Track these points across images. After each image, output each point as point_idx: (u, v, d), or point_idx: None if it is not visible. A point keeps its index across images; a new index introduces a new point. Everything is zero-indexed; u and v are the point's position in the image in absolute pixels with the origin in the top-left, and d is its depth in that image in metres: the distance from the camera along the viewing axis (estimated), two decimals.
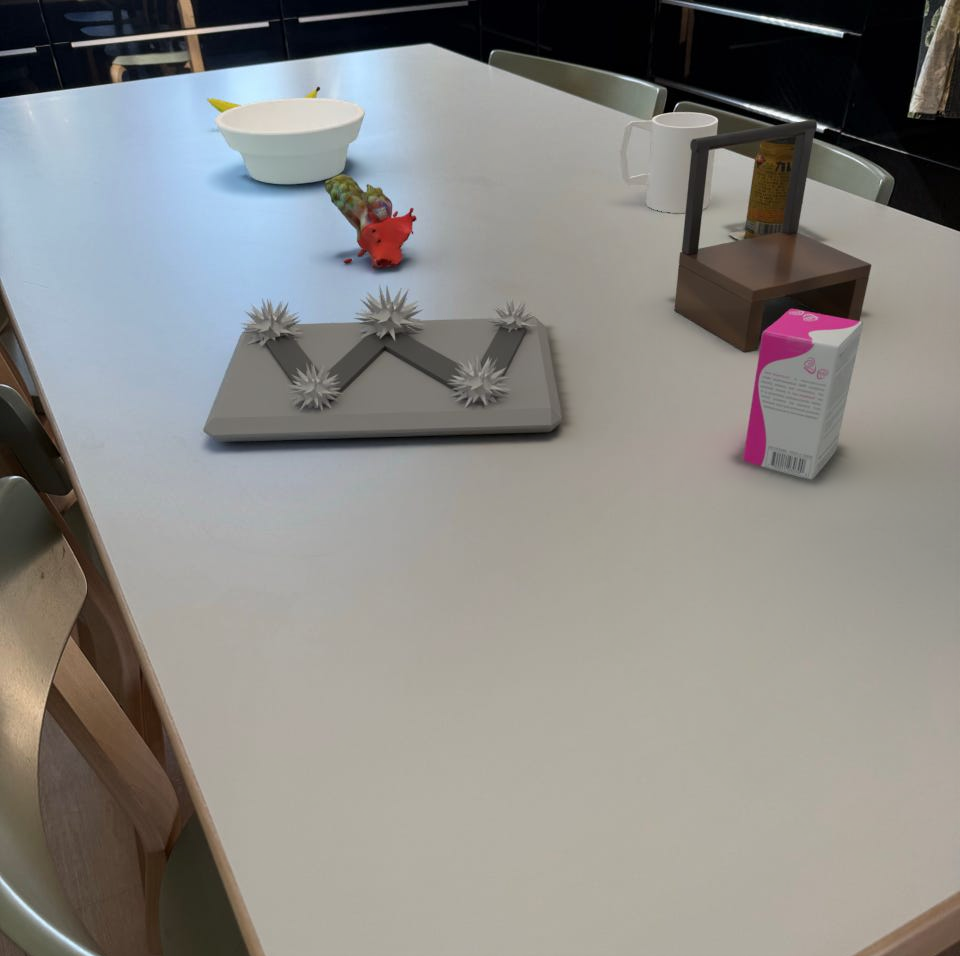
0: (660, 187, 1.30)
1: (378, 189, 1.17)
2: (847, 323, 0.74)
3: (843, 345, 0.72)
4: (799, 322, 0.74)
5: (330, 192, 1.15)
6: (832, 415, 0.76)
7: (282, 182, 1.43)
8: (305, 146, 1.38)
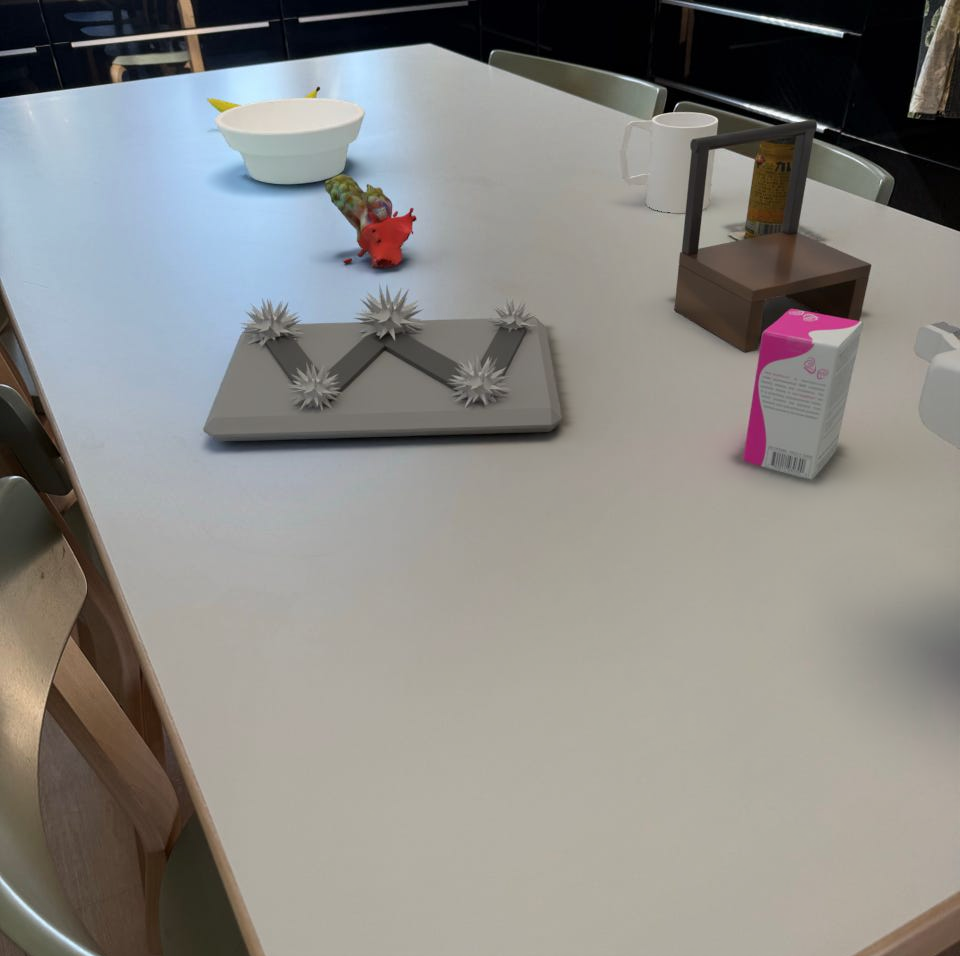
0: (661, 187, 1.30)
1: (378, 189, 1.17)
2: (847, 323, 0.74)
3: (843, 345, 0.72)
4: (799, 322, 0.74)
5: (330, 192, 1.15)
6: (832, 415, 0.76)
7: (282, 182, 1.43)
8: (305, 146, 1.38)
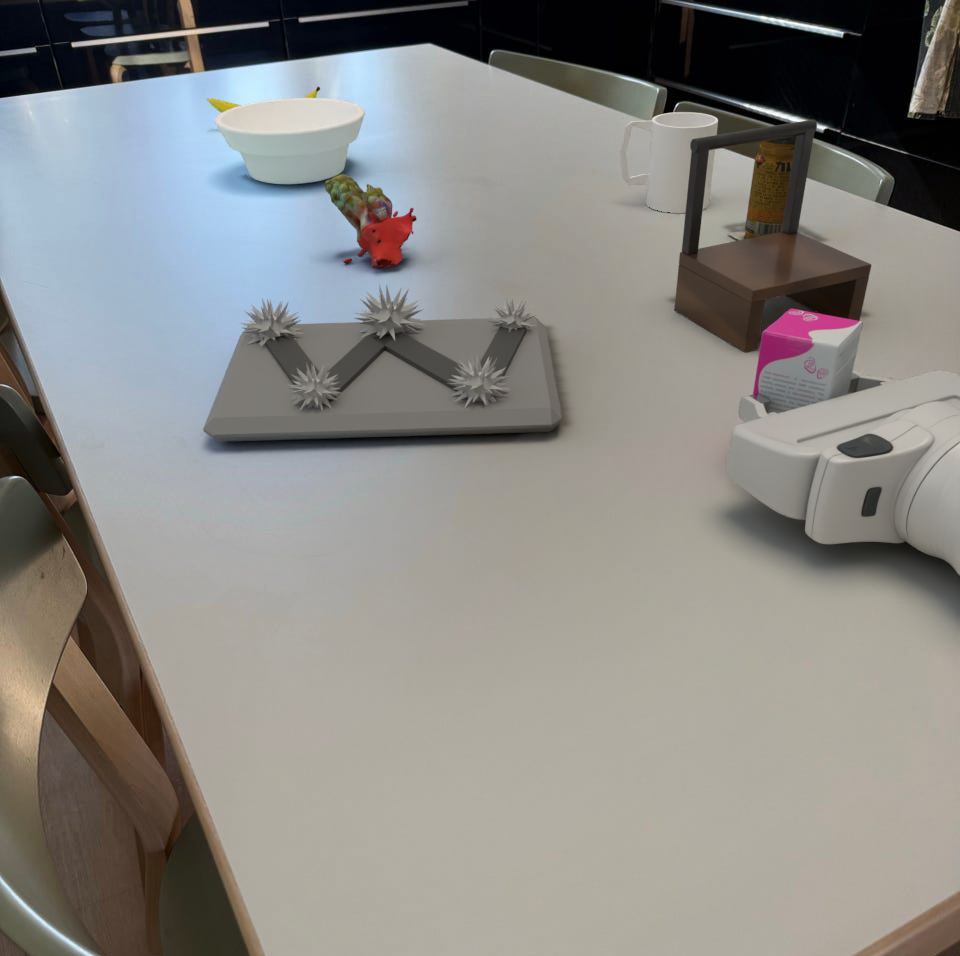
0: (661, 187, 1.30)
1: (378, 189, 1.17)
2: (846, 322, 0.74)
3: (843, 345, 0.72)
4: (799, 322, 0.74)
5: (330, 192, 1.15)
6: None
7: (282, 182, 1.43)
8: (305, 146, 1.38)
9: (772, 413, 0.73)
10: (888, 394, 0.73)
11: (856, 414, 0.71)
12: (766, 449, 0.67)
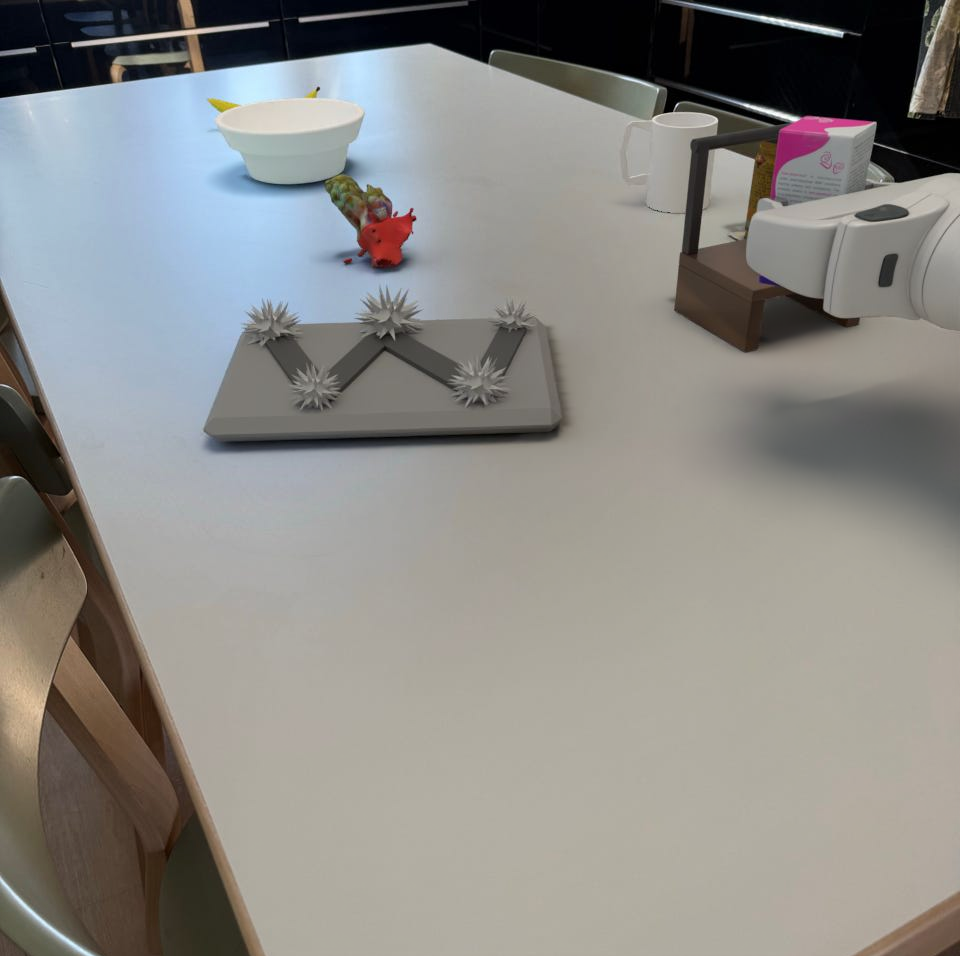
0: (661, 187, 1.30)
1: (378, 189, 1.17)
2: (861, 123, 0.76)
3: (858, 137, 0.74)
4: (815, 123, 0.77)
5: (330, 192, 1.15)
6: None
7: (282, 182, 1.43)
8: (305, 146, 1.38)
9: None
10: (902, 189, 0.75)
11: (871, 202, 0.73)
12: (785, 226, 0.69)
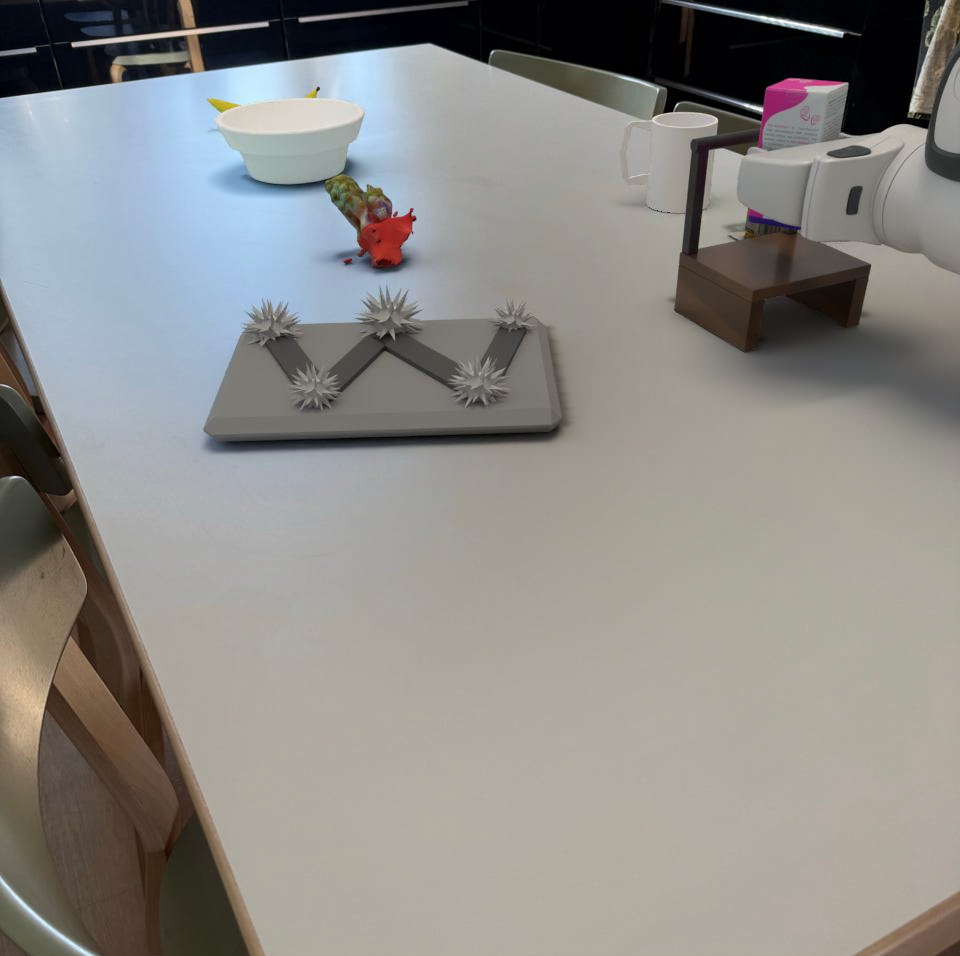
0: (660, 187, 1.30)
1: (378, 189, 1.17)
2: (835, 83, 0.90)
3: (832, 93, 0.87)
4: (796, 83, 0.90)
5: (330, 192, 1.15)
6: None
7: (282, 182, 1.43)
8: (305, 146, 1.38)
9: None
10: None
11: None
12: (769, 164, 0.83)
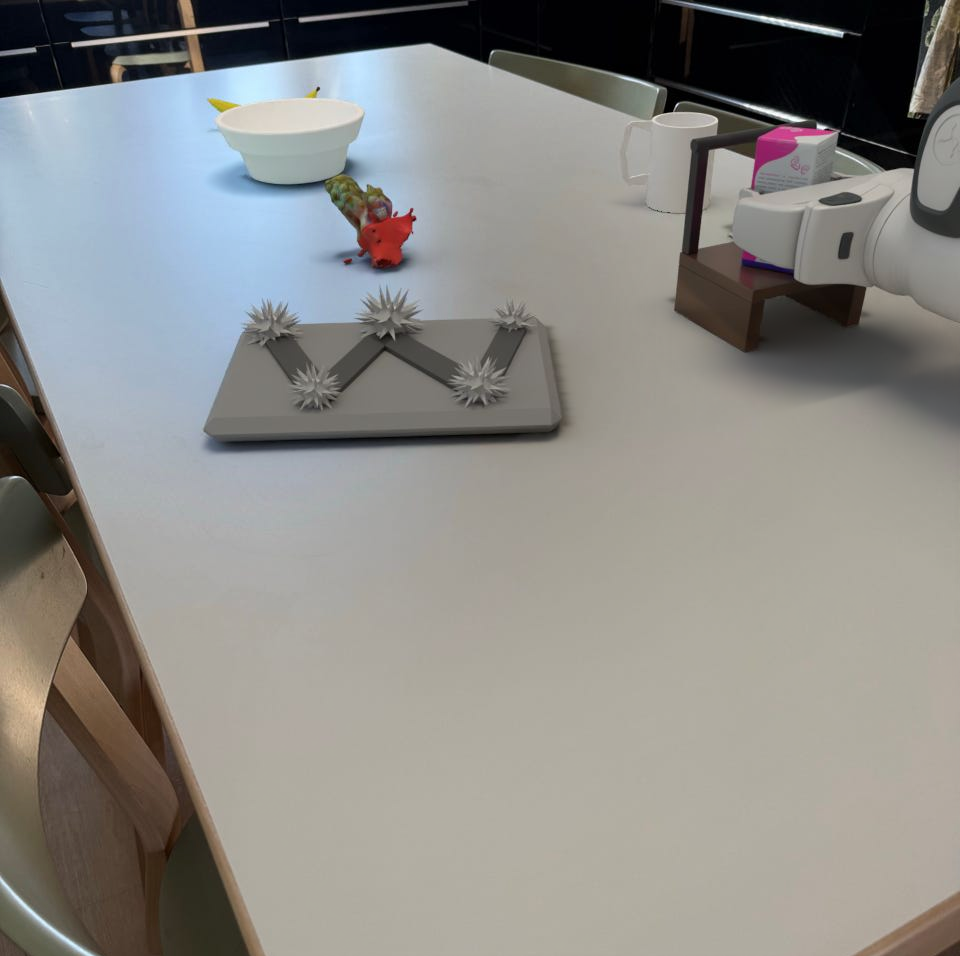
0: (661, 187, 1.30)
1: (378, 189, 1.17)
2: (825, 132, 0.93)
3: (821, 144, 0.90)
4: (787, 132, 0.93)
5: (330, 192, 1.15)
6: None
7: (282, 182, 1.43)
8: (305, 146, 1.38)
9: None
10: (861, 181, 0.91)
11: (835, 191, 0.89)
12: (763, 209, 0.85)
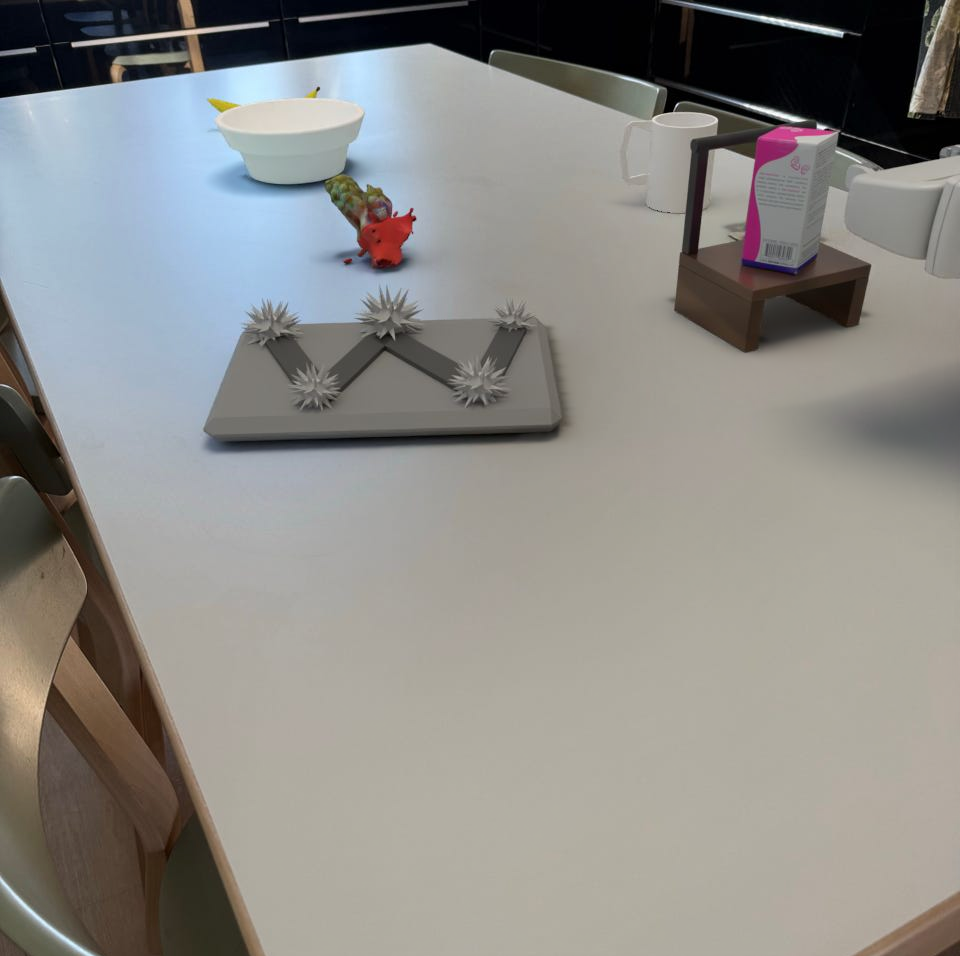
0: (661, 187, 1.30)
1: (378, 189, 1.17)
2: (825, 132, 0.93)
3: (821, 144, 0.90)
4: (787, 132, 0.93)
5: (330, 192, 1.15)
6: (814, 209, 0.94)
7: (282, 182, 1.43)
8: (305, 146, 1.38)
9: None
10: None
11: None
12: (889, 187, 0.70)
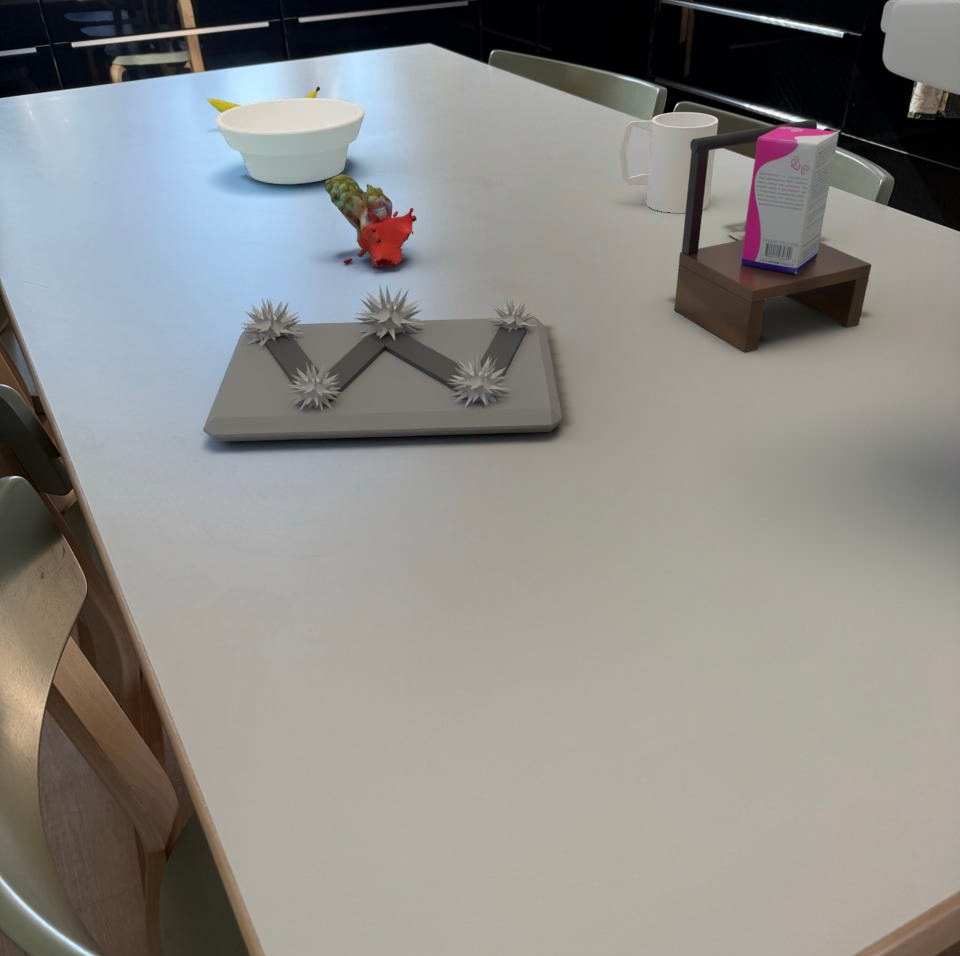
0: (661, 187, 1.30)
1: (378, 189, 1.17)
2: (825, 132, 0.93)
3: (821, 144, 0.90)
4: (787, 132, 0.93)
5: (330, 192, 1.15)
6: (814, 209, 0.94)
7: (282, 182, 1.43)
8: (305, 146, 1.38)
9: None
10: None
11: None
12: (941, 4, 0.57)
